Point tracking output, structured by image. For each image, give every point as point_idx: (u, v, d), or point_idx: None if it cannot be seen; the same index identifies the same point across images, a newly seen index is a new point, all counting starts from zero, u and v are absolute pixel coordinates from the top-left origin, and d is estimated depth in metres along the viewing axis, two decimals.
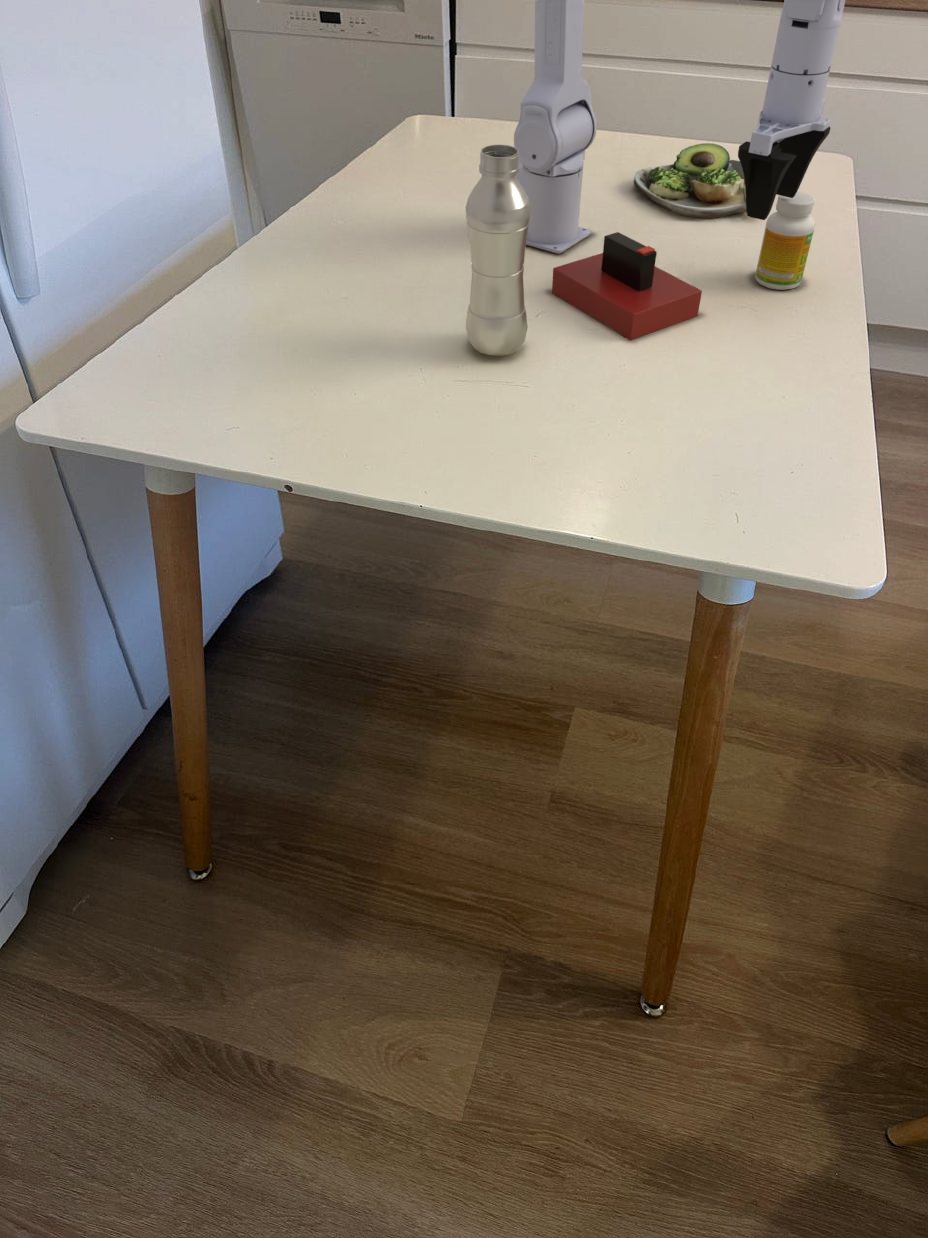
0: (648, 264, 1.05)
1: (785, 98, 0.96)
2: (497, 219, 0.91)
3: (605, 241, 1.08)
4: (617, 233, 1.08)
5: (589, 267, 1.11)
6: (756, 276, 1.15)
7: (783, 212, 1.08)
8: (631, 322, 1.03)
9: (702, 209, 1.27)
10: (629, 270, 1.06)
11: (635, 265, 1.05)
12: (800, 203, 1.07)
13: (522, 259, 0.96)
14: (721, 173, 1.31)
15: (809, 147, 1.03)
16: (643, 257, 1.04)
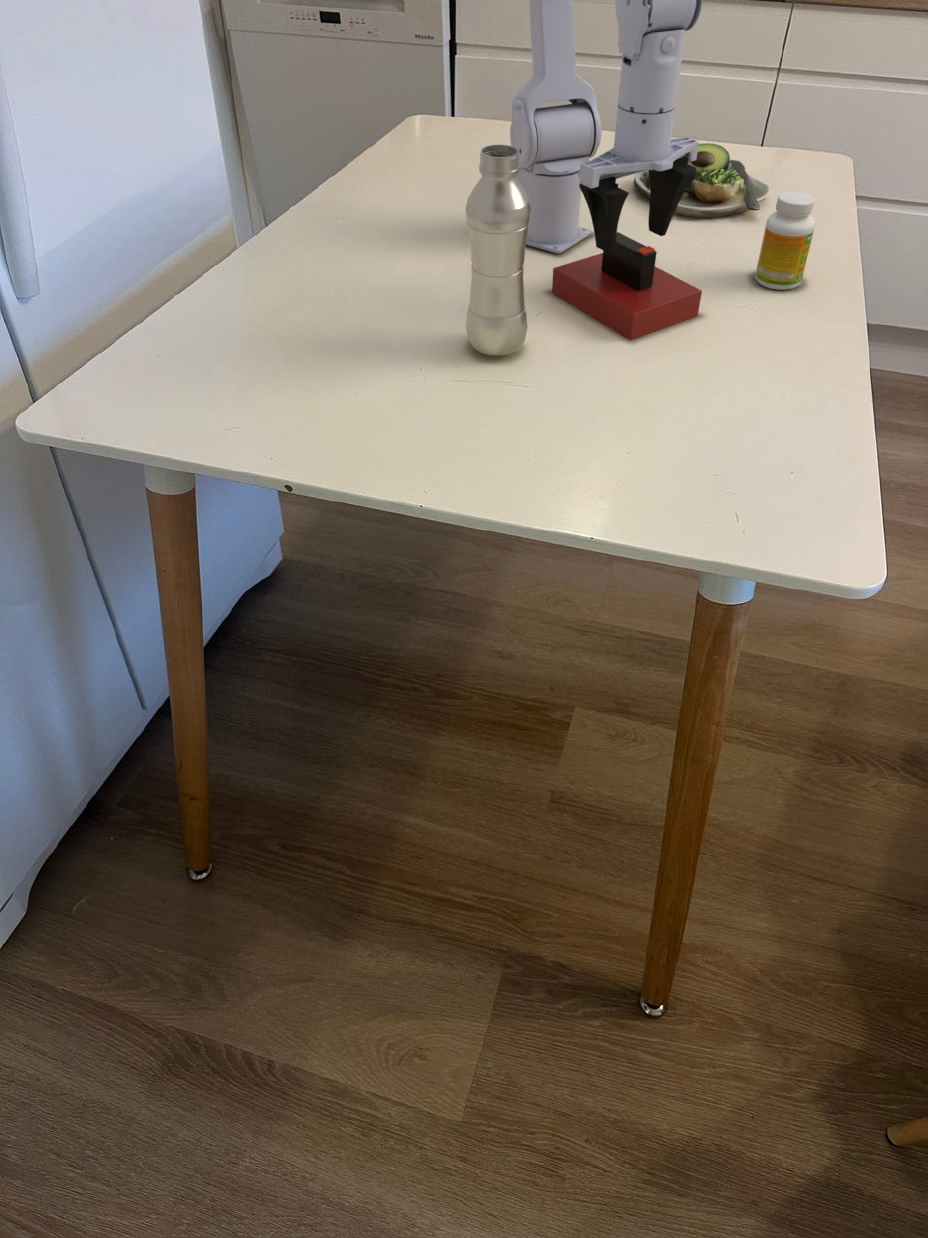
0: (648, 264, 1.05)
1: (623, 134, 0.97)
2: (497, 219, 0.91)
3: None
4: (617, 233, 1.08)
5: (589, 267, 1.11)
6: (756, 276, 1.15)
7: (783, 212, 1.08)
8: (631, 322, 1.03)
9: (702, 209, 1.27)
10: (629, 270, 1.06)
11: (635, 265, 1.05)
12: (800, 203, 1.07)
13: (522, 259, 0.96)
14: (721, 173, 1.31)
15: (672, 187, 1.03)
16: (643, 257, 1.04)
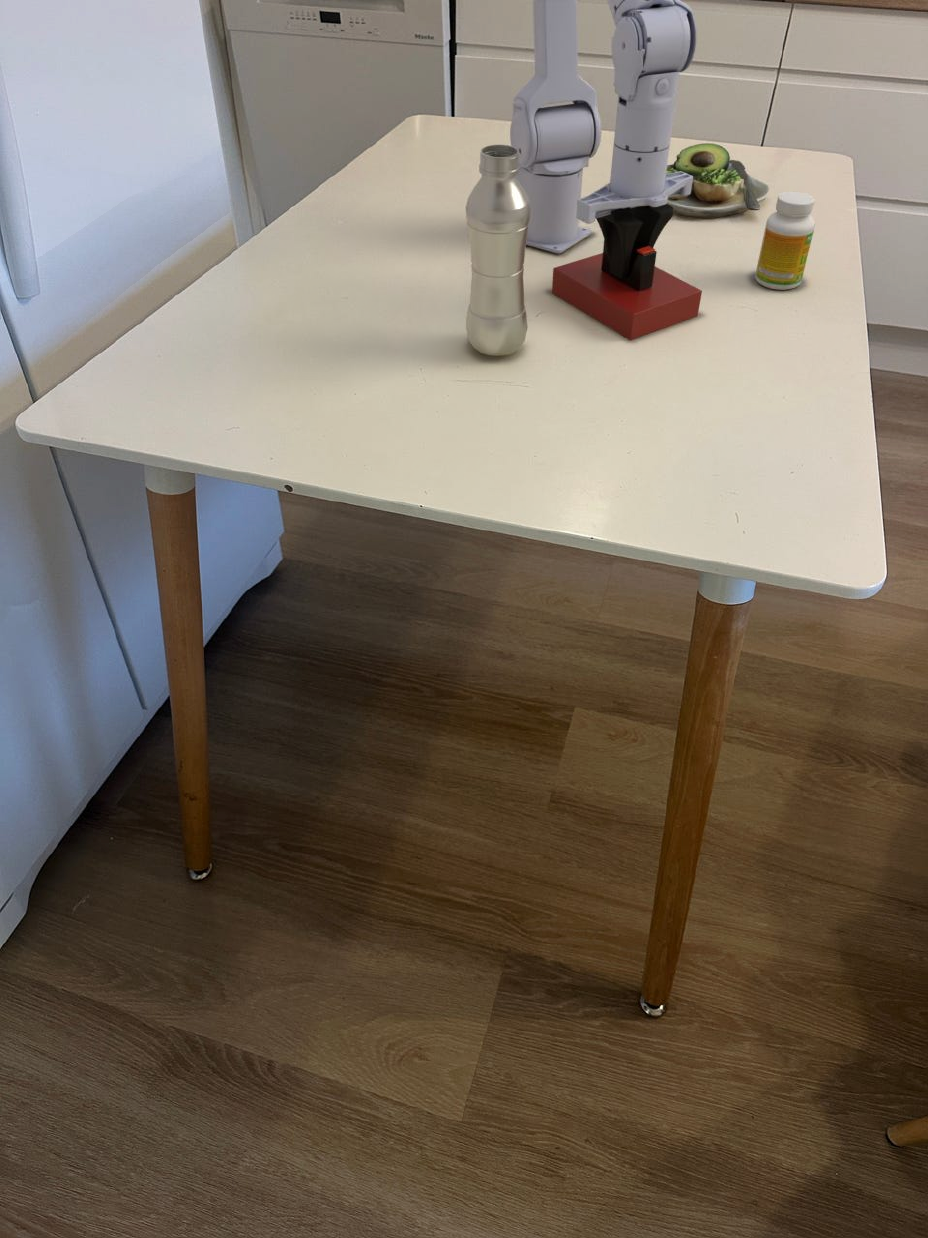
0: (648, 264, 1.05)
1: (619, 171, 0.99)
2: (497, 219, 0.91)
3: None
4: None
5: (589, 267, 1.11)
6: (756, 276, 1.15)
7: (783, 212, 1.08)
8: (631, 322, 1.03)
9: (702, 209, 1.27)
10: (629, 270, 1.06)
11: (635, 265, 1.05)
12: (800, 203, 1.07)
13: (522, 259, 0.96)
14: (721, 173, 1.31)
15: (650, 226, 1.04)
16: (643, 257, 1.04)
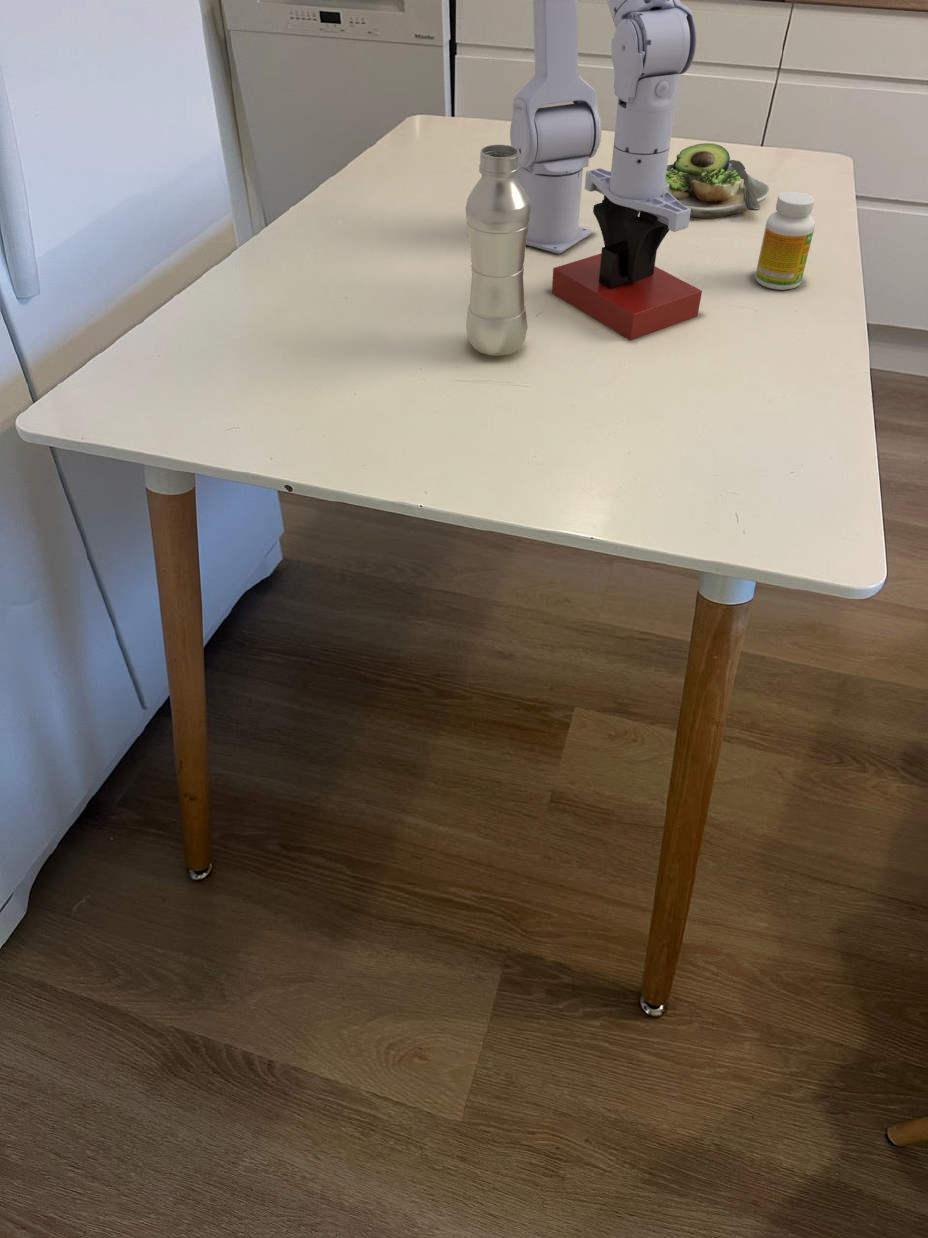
0: None
1: (658, 175, 0.99)
2: (497, 219, 0.91)
3: (615, 257, 1.05)
4: (607, 247, 1.05)
5: (589, 267, 1.11)
6: (756, 276, 1.15)
7: (783, 212, 1.08)
8: (631, 322, 1.03)
9: (702, 209, 1.27)
10: None
11: None
12: (800, 203, 1.07)
13: (522, 259, 0.96)
14: (721, 173, 1.31)
15: (633, 218, 1.06)
16: None
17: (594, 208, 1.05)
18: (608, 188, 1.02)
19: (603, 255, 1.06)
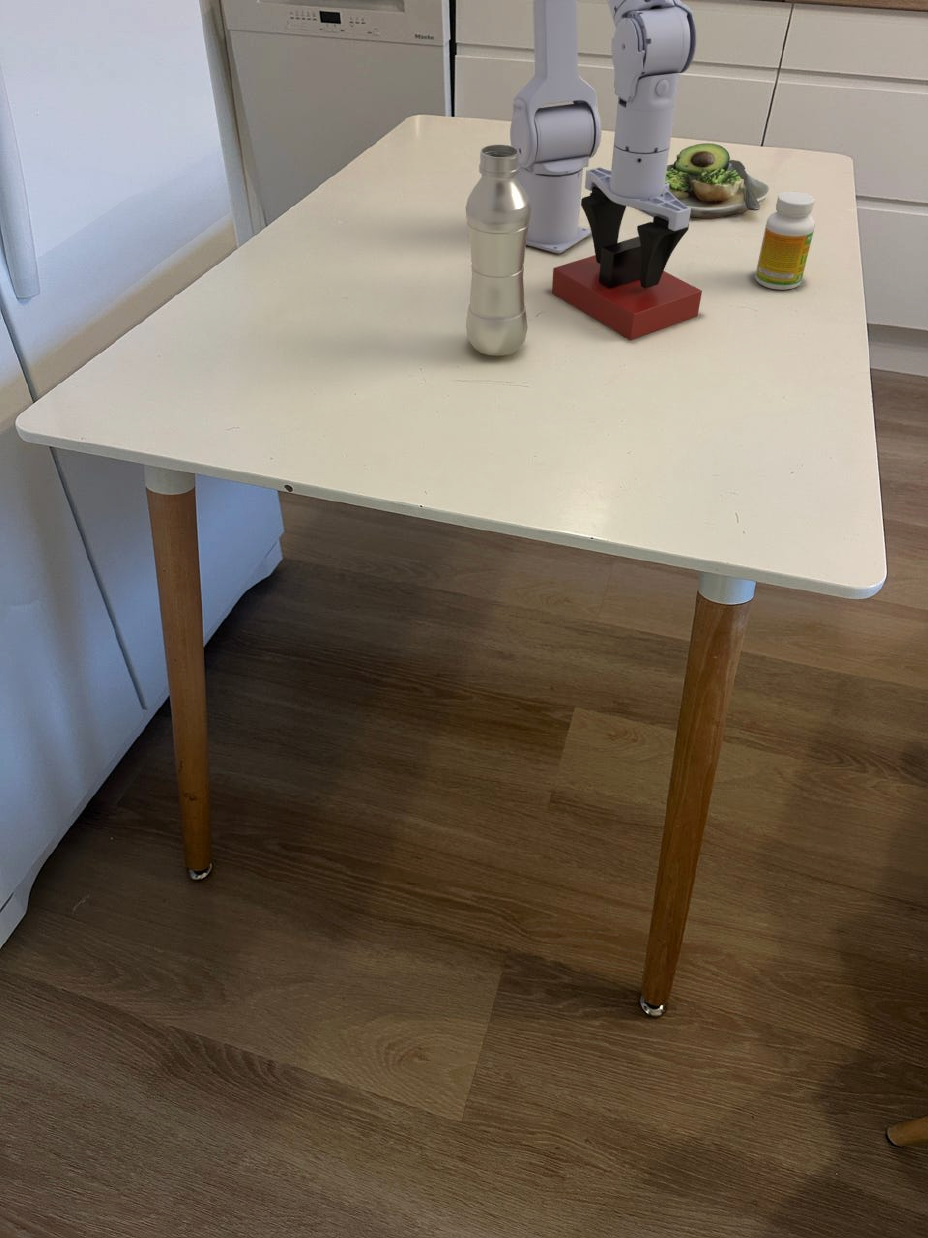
0: None
1: (658, 174, 0.99)
2: (497, 219, 0.91)
3: (615, 257, 1.05)
4: (607, 247, 1.05)
5: (589, 267, 1.11)
6: (756, 276, 1.15)
7: (783, 212, 1.08)
8: (631, 322, 1.03)
9: (702, 209, 1.27)
10: None
11: None
12: (800, 203, 1.07)
13: (522, 259, 0.96)
14: (721, 173, 1.31)
15: (620, 211, 1.07)
16: None
17: (582, 201, 1.06)
18: (608, 187, 1.02)
19: (603, 255, 1.06)
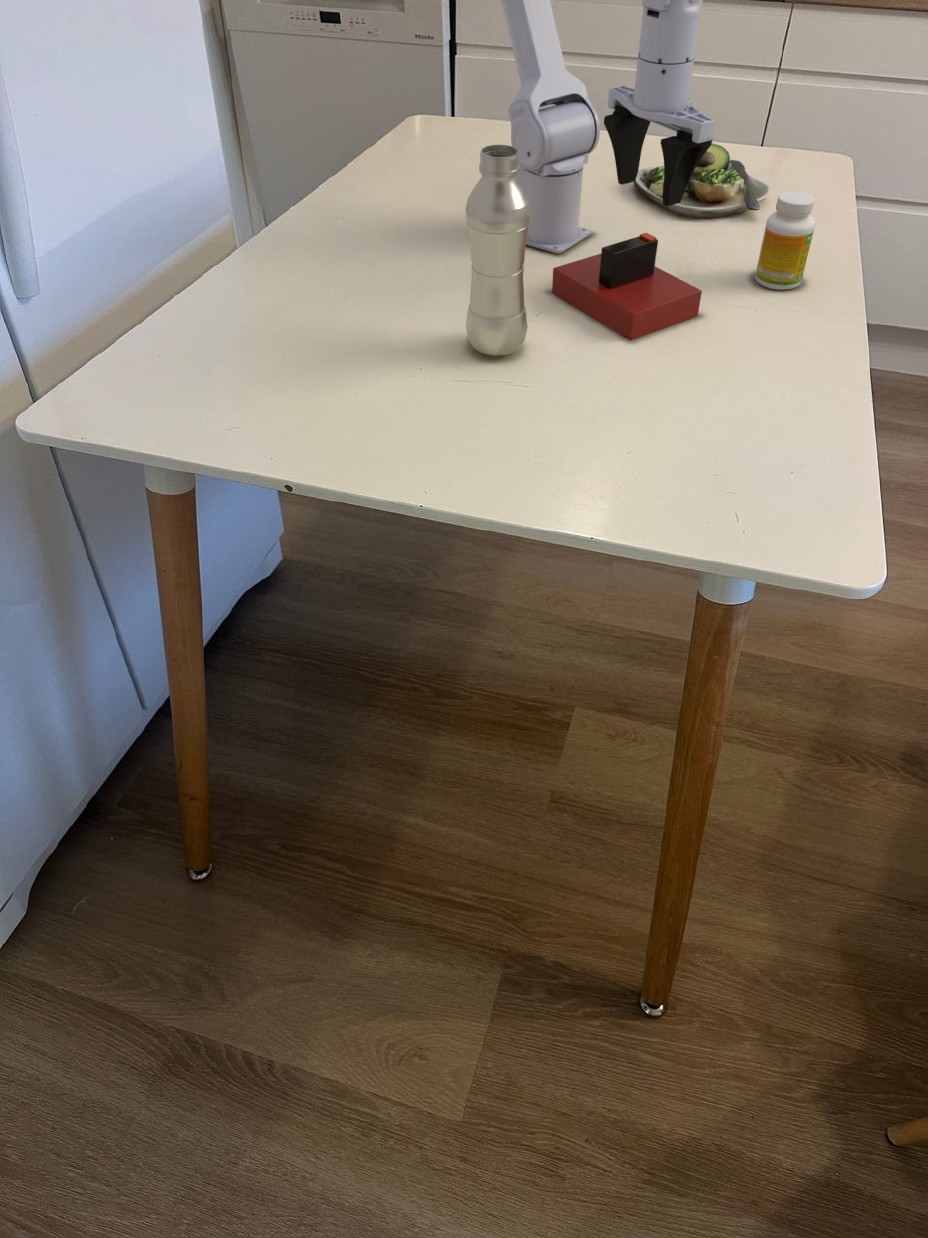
0: None
1: (682, 87, 0.99)
2: (497, 219, 0.91)
3: (615, 257, 1.05)
4: (607, 247, 1.05)
5: (589, 267, 1.11)
6: (756, 276, 1.15)
7: (783, 212, 1.08)
8: (631, 322, 1.03)
9: (702, 209, 1.27)
10: (643, 263, 1.08)
11: (650, 254, 1.07)
12: (800, 203, 1.07)
13: (522, 259, 0.96)
14: (721, 173, 1.31)
15: (643, 130, 1.08)
16: (657, 241, 1.07)
17: (605, 119, 1.06)
18: (632, 102, 1.02)
19: (603, 255, 1.06)
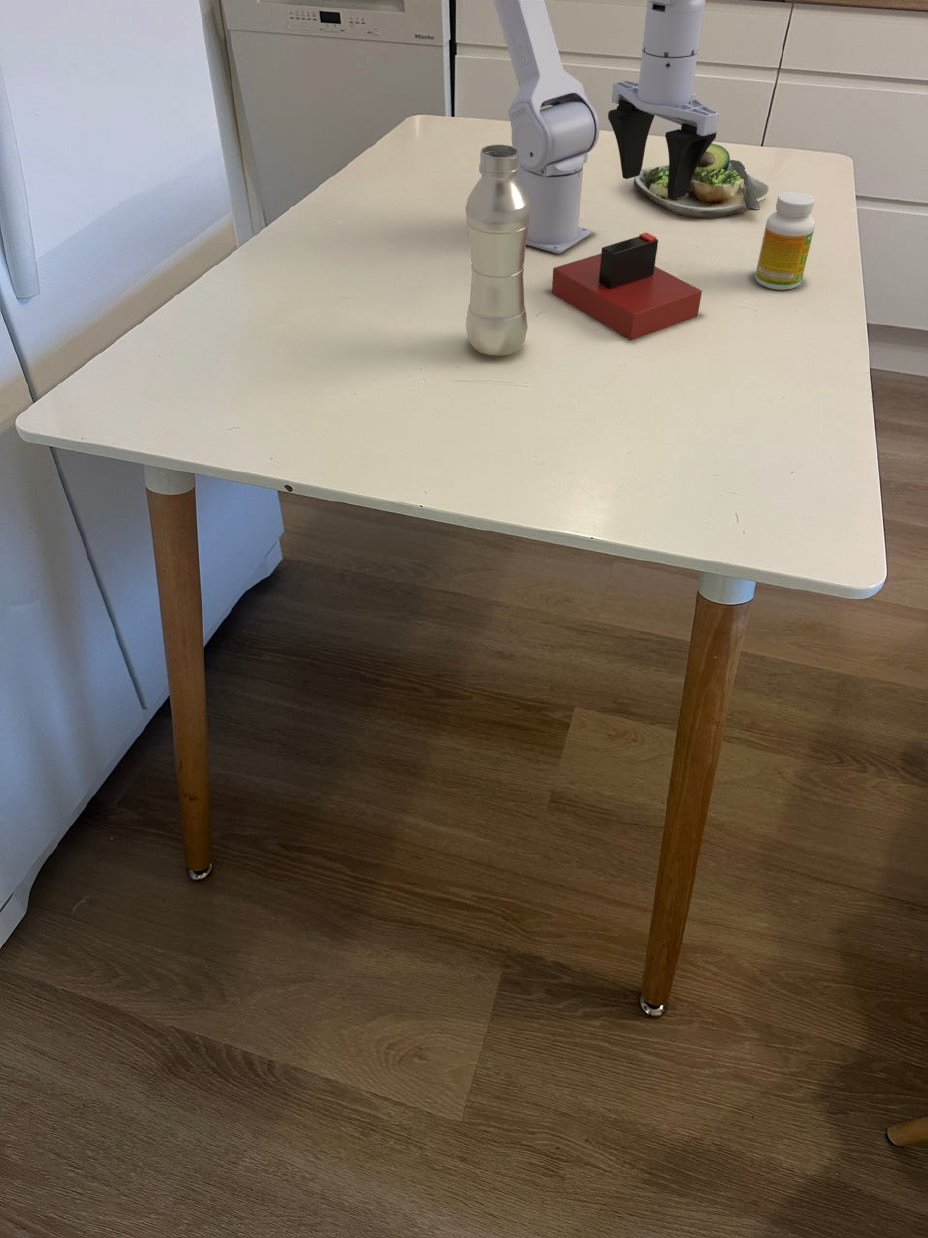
0: None
1: (686, 80, 1.00)
2: (497, 219, 0.91)
3: (615, 257, 1.05)
4: (607, 247, 1.05)
5: (589, 267, 1.11)
6: (756, 276, 1.15)
7: (783, 212, 1.08)
8: (631, 322, 1.03)
9: (702, 209, 1.27)
10: (643, 263, 1.08)
11: (650, 254, 1.07)
12: (800, 203, 1.07)
13: (522, 259, 0.96)
14: (721, 173, 1.31)
15: (647, 124, 1.08)
16: (657, 241, 1.07)
17: (609, 113, 1.07)
18: (636, 96, 1.03)
19: (603, 255, 1.06)
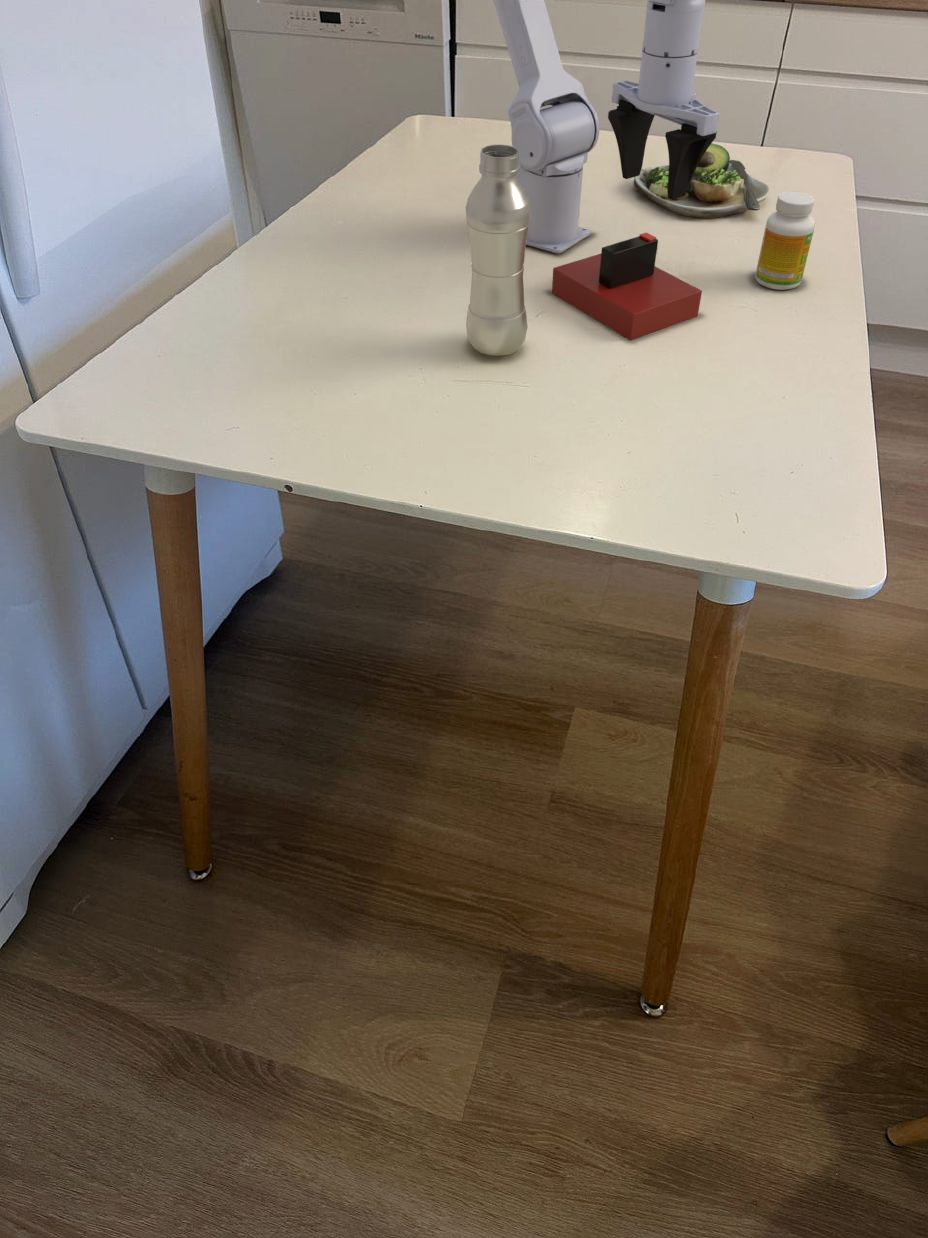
0: None
1: (686, 80, 1.00)
2: (497, 219, 0.91)
3: (615, 257, 1.05)
4: (607, 247, 1.05)
5: (589, 267, 1.11)
6: (756, 276, 1.15)
7: (783, 212, 1.08)
8: (631, 322, 1.03)
9: (702, 209, 1.27)
10: (643, 263, 1.08)
11: (650, 254, 1.07)
12: (800, 203, 1.07)
13: (522, 259, 0.96)
14: (721, 173, 1.31)
15: (647, 124, 1.08)
16: (657, 241, 1.07)
17: (609, 113, 1.07)
18: (636, 96, 1.03)
19: (603, 255, 1.06)
